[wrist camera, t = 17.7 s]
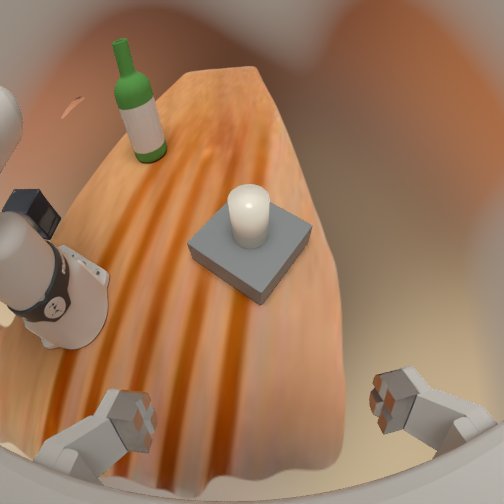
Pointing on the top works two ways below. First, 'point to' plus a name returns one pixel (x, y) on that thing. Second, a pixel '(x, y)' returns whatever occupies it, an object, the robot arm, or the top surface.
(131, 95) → the wine bottle
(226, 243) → the plinth
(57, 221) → the small box
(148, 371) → the top surface
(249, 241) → the cylinder
